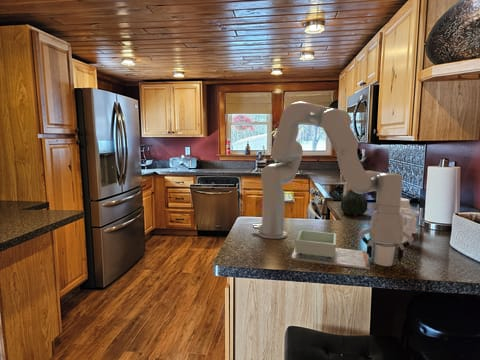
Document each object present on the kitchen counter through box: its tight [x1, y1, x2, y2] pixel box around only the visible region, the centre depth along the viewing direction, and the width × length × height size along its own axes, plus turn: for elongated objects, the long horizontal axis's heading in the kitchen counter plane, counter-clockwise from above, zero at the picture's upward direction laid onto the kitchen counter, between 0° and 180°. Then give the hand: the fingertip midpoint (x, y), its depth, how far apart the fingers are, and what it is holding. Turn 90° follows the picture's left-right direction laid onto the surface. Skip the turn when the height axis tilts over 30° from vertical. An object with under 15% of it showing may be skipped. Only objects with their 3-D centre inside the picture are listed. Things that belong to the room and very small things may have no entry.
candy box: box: [342, 181, 351, 198], centre depth 204 cm, size 9×4×15 cm, turn 103°
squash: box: [340, 190, 368, 217], centre depth 181 cm, size 14×15×15 cm
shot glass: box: [373, 242, 397, 267], centre depth 109 cm, size 7×7×7 cm
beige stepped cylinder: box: [400, 208, 420, 246], centre depth 129 cm, size 7×7×15 cm
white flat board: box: [290, 247, 371, 271], centre depth 115 cm, size 26×16×1 cm, turn 73°
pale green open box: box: [294, 229, 337, 259], centre depth 116 cm, size 14×14×6 cm
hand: (383, 257), depth 109 cm, fingers open, 8 cm apart
